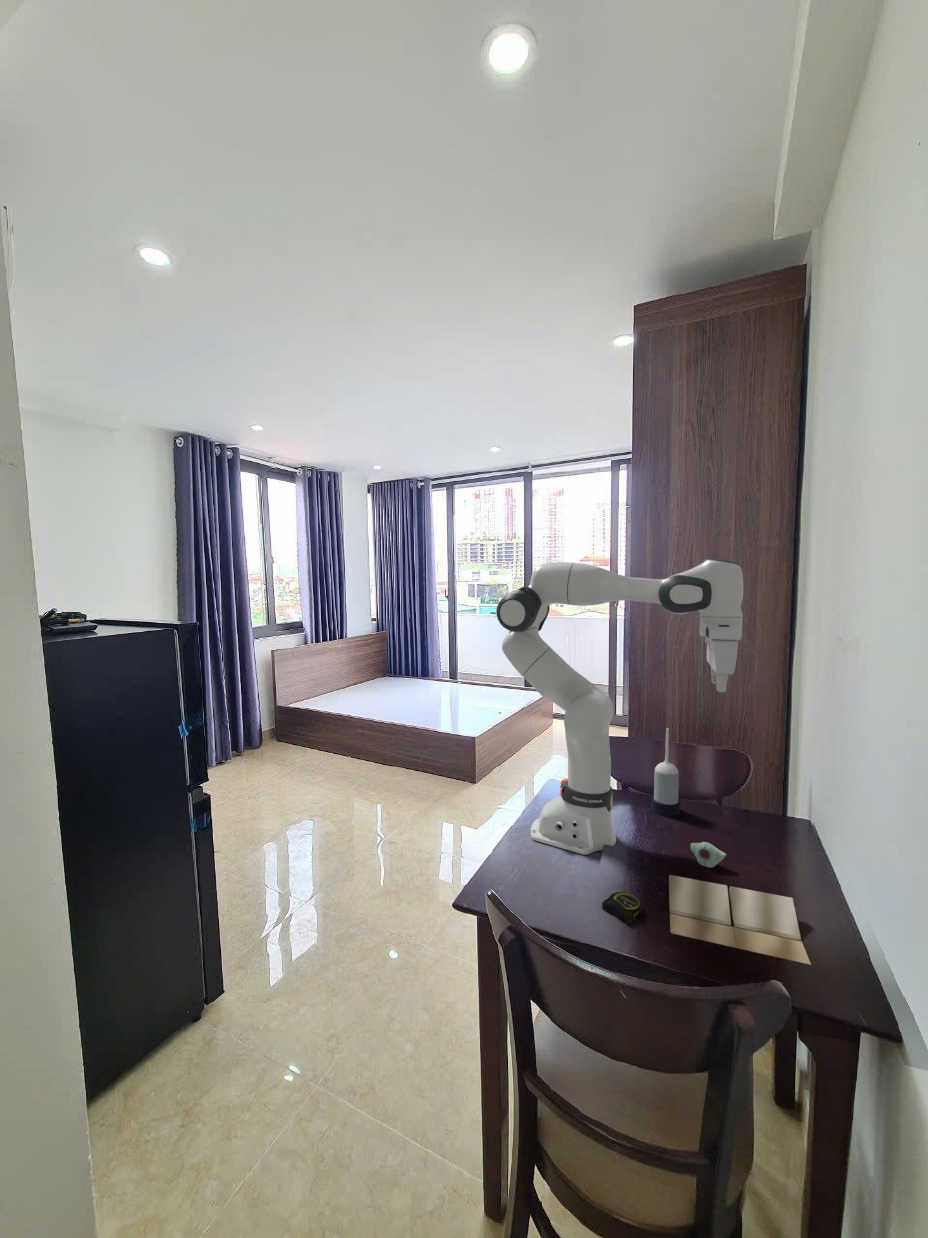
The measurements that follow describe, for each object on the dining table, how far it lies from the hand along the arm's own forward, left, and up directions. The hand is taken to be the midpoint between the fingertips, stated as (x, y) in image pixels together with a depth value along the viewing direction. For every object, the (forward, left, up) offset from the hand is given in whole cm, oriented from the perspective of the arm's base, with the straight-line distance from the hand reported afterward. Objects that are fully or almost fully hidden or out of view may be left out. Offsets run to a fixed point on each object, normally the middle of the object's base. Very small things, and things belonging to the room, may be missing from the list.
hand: (718, 687), depth 117 cm
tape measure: (-19, -28, -44) cm, 55 cm away
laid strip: (+1, -28, -43) cm, 52 cm away
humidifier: (-10, +28, -44) cm, 53 cm away
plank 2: (+7, -21, -41) cm, 46 cm away
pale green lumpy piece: (-2, -3, -44) cm, 44 cm away
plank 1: (-5, -21, -41) cm, 46 cm away
